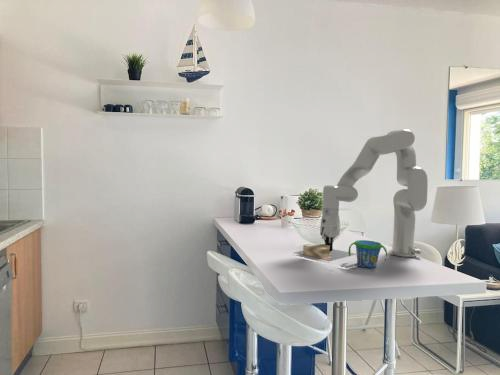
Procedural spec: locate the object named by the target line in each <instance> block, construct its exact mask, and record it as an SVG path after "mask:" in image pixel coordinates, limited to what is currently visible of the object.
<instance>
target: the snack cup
mask: <svg viewBox="0 0 500 375" xmlns="http://www.w3.org/2000/svg"><path fill="white" fill-rule="evenodd" d="M353 245H355V249H356V261H357V265H358V266H359V267H360V268H367V269H374V268H377V264H378V260H379V256H380V252H381V250H382V249H381V248H383V250H384V252H385V258H384V261H385V262H386V261H387V257H388V251H387V248H386V247H385V246H384V245H383V244H382V243H380V242H378V241H374V240H373V241H372V240H365V239H361V240H360V239H359V240H356V241H353V242H352V243H351V244H350V245H349V247H348V251H347V252H348V253H349V256H348V257H351V254H350V253H351V247H352V246H353Z"/></svg>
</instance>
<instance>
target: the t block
mask: <svg viewBox="0 0 500 375" xmlns="http://www.w3.org/2000/svg"><path fill="white" fill-rule="evenodd" d="M302 246H303V247H302V251H303V254H306V255H310V256H314V257H318V258H322V259H323V258H327V257H328V254H329V253H330V245H325V243H321V244H316V245H314V244H310V243H308V244H303V245H302Z"/></svg>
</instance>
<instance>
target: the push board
mask: <svg viewBox="0 0 500 375" xmlns="http://www.w3.org/2000/svg"><path fill="white" fill-rule="evenodd" d="M295 254H296V256H298V257H299V256H300V255H301V256H300V257H302V258H303V257H309V258H312V259H313V258H314V259H316V260H317V261H321V260H323V261H321V262H324V261H326V262H332V261H336V260H340V259H344V258H347V257H351V256H355V255H356V256H357V253H354V252H350V254H351V256H349V253H348V251H344V250H340V249H335V248H333V249H332V251H330V253H329V254H328V257H327V258H323V259H322V258H318V257H314V256H310V255H306V254H303V250H300V251H295V252H293V254H292V255H293V256H294V255H295Z"/></svg>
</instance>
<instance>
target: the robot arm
mask: <svg viewBox="0 0 500 375" xmlns="http://www.w3.org/2000/svg"><path fill="white" fill-rule="evenodd" d="M415 138H416V137H415V134H414V133H413V131H411V130H410V129H405V128H404V129H397V130H392V131H389V132H388V133H387V134H384V135H380V136H373V137H372V136H371V137H370V138H369V139H367V140H366V142H365V144H364V145H363V147H362V149H361V150H360V152H359V153H358V156H357V157H356V158H355V161H354V162H353V163H352V165H351V166H350V167H349V168H348V169H347V170H345V172H344V173H343V175H342V176H341V177H340V179H339V181H338V182H337V184H336V185H324V186H323V189H322V210H321V211H322V212H321V219H320V227H319V228H320V229H319V234H320V236H321V240H324V244H325V245H330V251H332V249H334V248H333V245H334V241H335V238H337V237H338V236H339V235H340V231H341V229H340V228H341V227H340V226H341V222H340V214H339V209H340V202H345V203H352V202H354V201H356V200H357V199H358V196H359V193H358V190H357V189H356V187H354V185H355V184H356V183H357V182H358V181H359V180H360V179H362V178H363V177H365V176H367V175H368V174H370V172H371V171H372V169H373V167H374V166H375V164H376V163H377V161H378V159H379V158H380V156H383V155H388V154H392V153H395V156H396V181H397V183H398V184H399V185H401V186H403V187H407V188H403V189H402V188H401V189H399V190H397V191H396V192H395V193H394V196H393V200H392V201H393V203H392V204H393V210H394V211H393V212H394V215H393V231H392V233H393V234H392V248H391V249H389V250H388V253H389V254H391V255H392V256H396V257H403V258H414V257H417V254H418V255H422V253H423V250H422V249H419V248H417V246H416V245H415V244H414V242H415V230H416V214H415V212H419V211H422V210H424V208H425V207H426V205H427V202H428V184H429V183H428V174H427V172H426V171H425V170H424V168H422V167H420V166H417V155H416V151H415V149H414V147H413V145H414V143H415Z"/></svg>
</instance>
